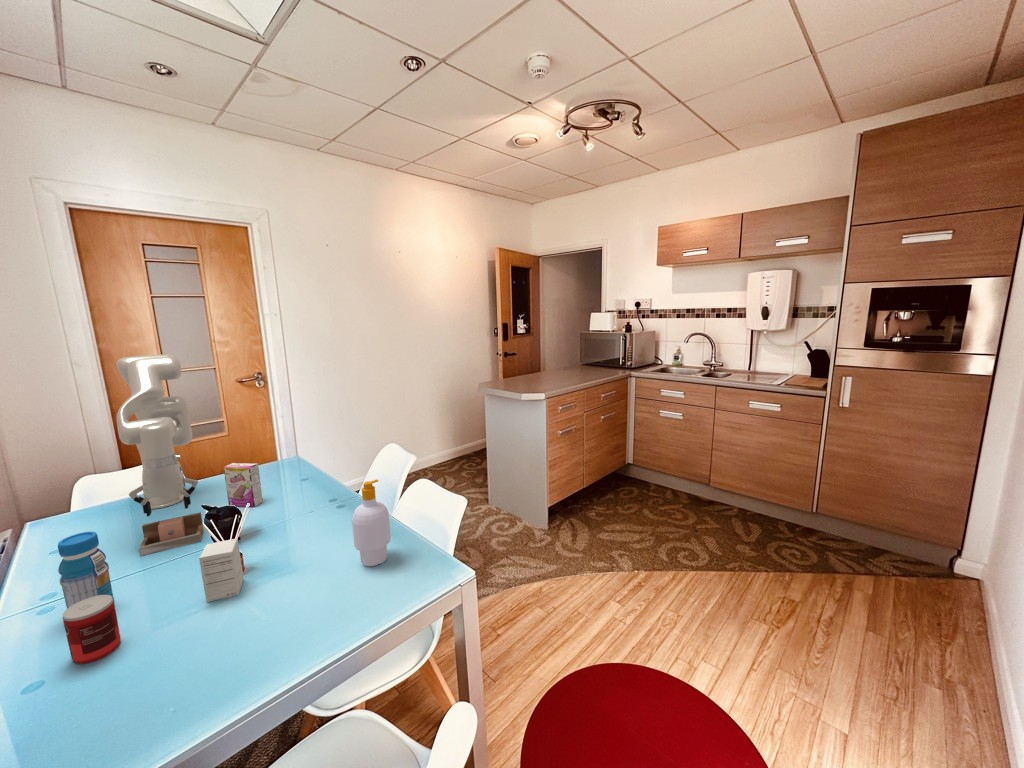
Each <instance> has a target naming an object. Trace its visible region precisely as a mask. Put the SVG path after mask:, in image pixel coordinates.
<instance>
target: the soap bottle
mask: <svg viewBox="0 0 1024 768" xmlns="http://www.w3.org/2000/svg"><path fill="white" fill-rule="evenodd" d="M378 482H379V479H374V480H371V481H370V480H369V481H365V482H363V483H362V485H363V487H362V488H361V500H362V504H359V505H358V506H357V507H356V508H355V509H354V512H353V515H352V519H351V525H352V537H353V546H354V548H355V549H356V550H357V551H359V560H360V563H361V565H363V566H366V567H376V566H378V564H379V565H381V564H383V563H384V562H385V561H386V560H387V558H388V548H387V547H388V544H389V543H390V542H391V526H390V525H391V523H390V513H389V509H388V508H387V506H386V505H385V504H384V503H383V502H381V501H377V498H376V489H375V488H376V487H375V486H374V485H373V484H374V483H378ZM382 562H383V563H382Z"/></svg>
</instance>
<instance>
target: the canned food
mask: <svg viewBox="0 0 1024 768" xmlns="http://www.w3.org/2000/svg"><path fill="white" fill-rule="evenodd" d="M114 601H115V600H114ZM114 601H113V598H112V596H110V595H99V596H94V597H90V598H87V599H84V600H82V601H80V602H78V603H76V604H74V605H72V606H70V607H69V608H68V609H67V608H66V609H65V610H64V611H63V613H62V622H63V625H64V626H63V627H64V631H65V634H66V635H65V636H66V639H67V644H68V647H69V648H68V649H69V653H70V657H71V660H72V661H73V662H74V663H75V664H77V665H78V664H79V665H81V664H83V665H85V664H91V663H93V662H96V661H98V660H100V659H103V658H105V657H106V656H108V655H110V654H111V653H113V652H114V651H116V649H117V648H118V647H119V646H120V644H121V639H122V637H121V633H120V627H119V622H118V617H117V611H116V606H115V603H114Z"/></svg>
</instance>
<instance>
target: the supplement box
mask: <svg viewBox="0 0 1024 768" xmlns="http://www.w3.org/2000/svg"><path fill="white" fill-rule="evenodd" d="M198 558H199V565H200V572H201V578H202V584H203V590H204V595H205V600H206V601H205V602H207V603H209V602H213V601H218V600H223V599H226V598H230V597H234V596H238V595H239V594H240V592H241V589H242V586H243V582H244V573H243V565H242V559H241V552H240V545H239V539H238V538H232V539H228V540H227V539H226V540H222V541H216V542H213V543H212V542H211V543H208V544H206V545H205V546H204V548H203V550H202V553H200V556H199V557H198Z"/></svg>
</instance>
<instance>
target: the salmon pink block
mask: <svg viewBox="0 0 1024 768" xmlns="http://www.w3.org/2000/svg"><path fill="white" fill-rule="evenodd" d="M178 517H179V518H176V517H174V518H175V519H172V518H169V519H170V520H167V519H165V520H166V521H163V520H160V521H161V522H160V523H159V525H158V531H159V537H160V542H163V541H168V540H172V539H176V538H180V537H185V536H187V535H186V533H185V526H184V520H183V517H181V516H178Z"/></svg>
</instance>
